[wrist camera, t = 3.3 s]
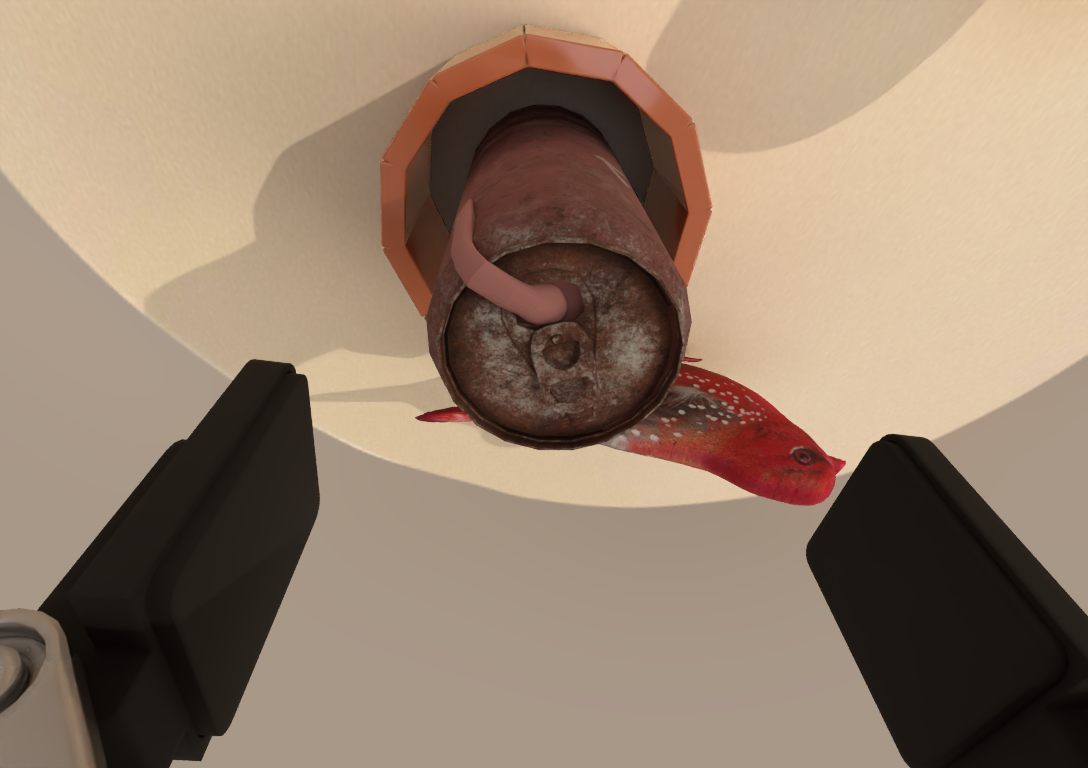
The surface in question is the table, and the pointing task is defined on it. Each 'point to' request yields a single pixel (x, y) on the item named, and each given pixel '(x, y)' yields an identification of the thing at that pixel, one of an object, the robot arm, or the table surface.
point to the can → (555, 290)
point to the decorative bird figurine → (724, 438)
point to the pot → (669, 130)
